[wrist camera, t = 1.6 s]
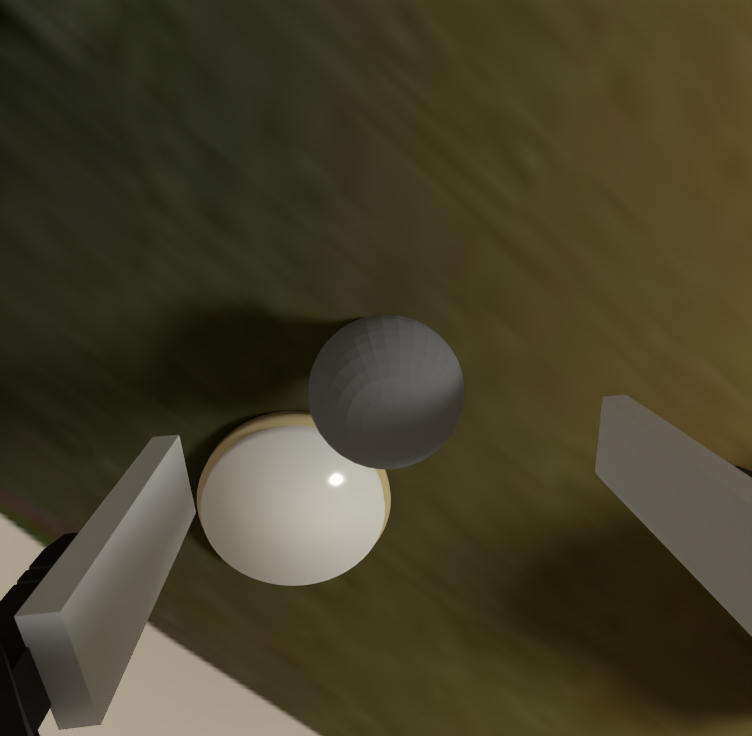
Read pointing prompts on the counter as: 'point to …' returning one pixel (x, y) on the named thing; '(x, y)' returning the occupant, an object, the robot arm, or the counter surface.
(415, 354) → the light bulb
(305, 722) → the counter surface
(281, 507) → the white plate
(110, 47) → the counter surface
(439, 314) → the counter surface
